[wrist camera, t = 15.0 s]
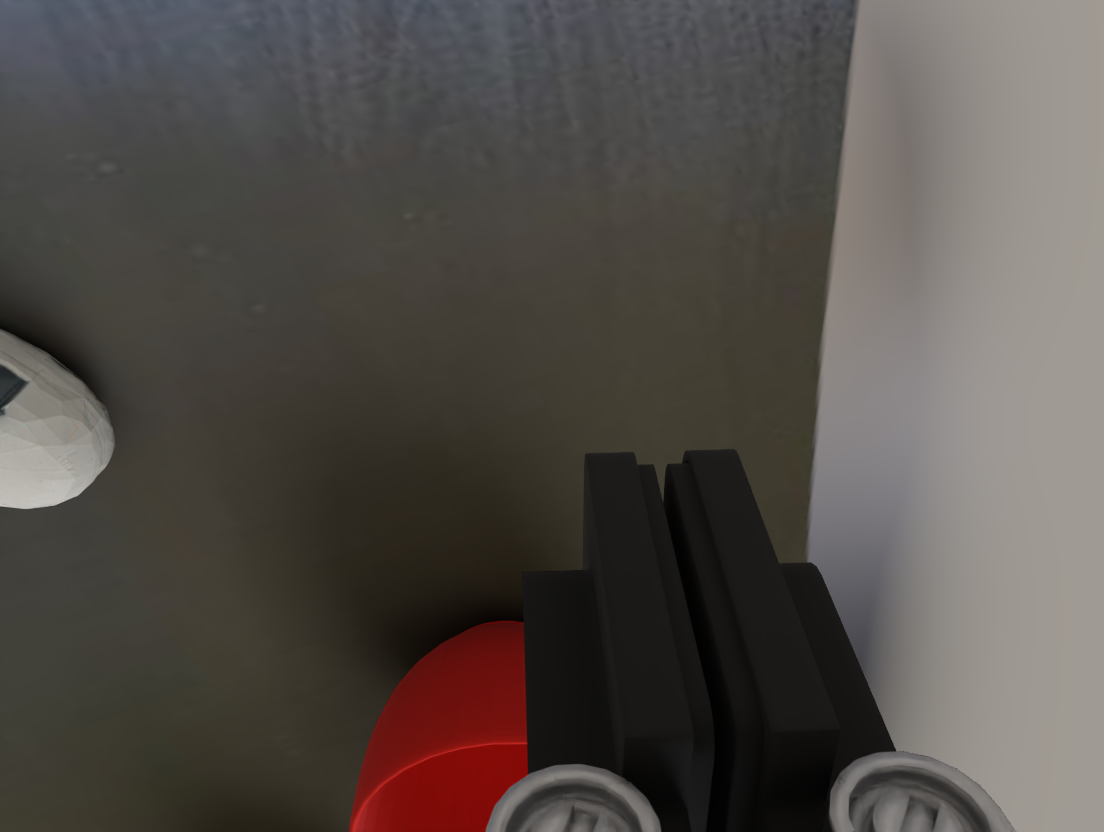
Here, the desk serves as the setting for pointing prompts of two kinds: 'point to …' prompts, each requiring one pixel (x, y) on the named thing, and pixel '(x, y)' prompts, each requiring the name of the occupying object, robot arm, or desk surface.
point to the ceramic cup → (448, 737)
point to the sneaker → (47, 428)
